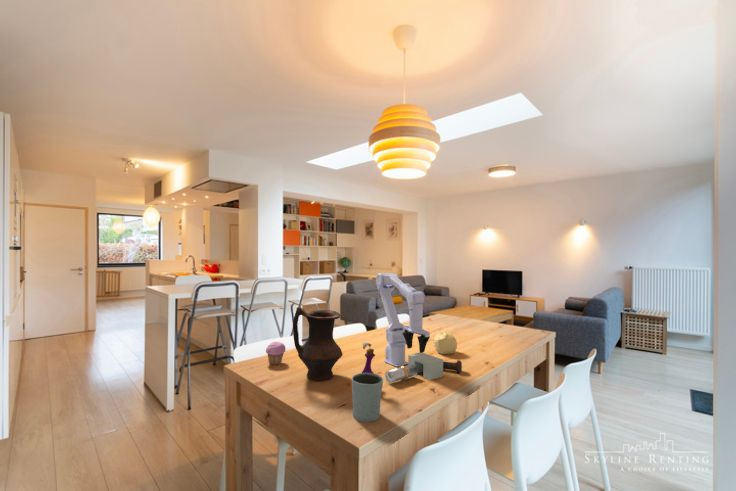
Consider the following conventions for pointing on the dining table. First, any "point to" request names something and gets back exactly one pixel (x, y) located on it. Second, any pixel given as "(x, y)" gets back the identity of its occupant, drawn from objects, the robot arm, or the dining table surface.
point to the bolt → (453, 366)
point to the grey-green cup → (366, 396)
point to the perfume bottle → (368, 358)
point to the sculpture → (445, 343)
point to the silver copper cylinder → (401, 373)
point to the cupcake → (275, 352)
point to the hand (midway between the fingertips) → (415, 350)
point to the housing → (427, 365)
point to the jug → (318, 343)
